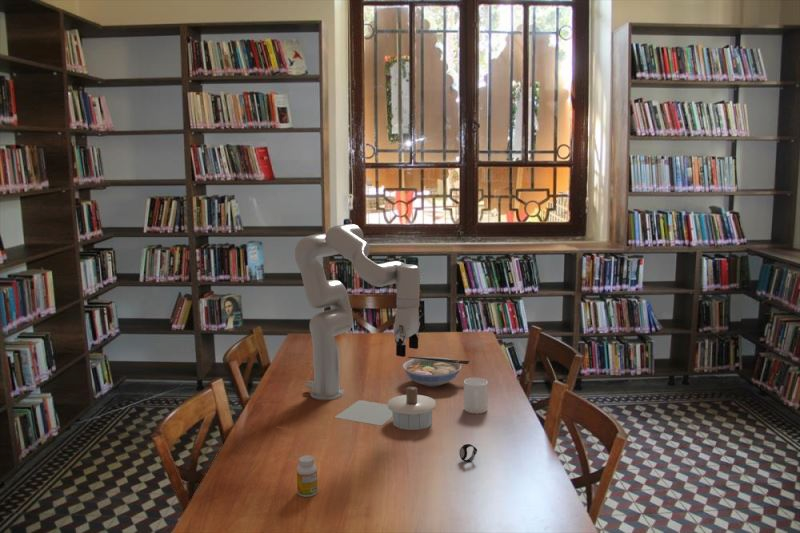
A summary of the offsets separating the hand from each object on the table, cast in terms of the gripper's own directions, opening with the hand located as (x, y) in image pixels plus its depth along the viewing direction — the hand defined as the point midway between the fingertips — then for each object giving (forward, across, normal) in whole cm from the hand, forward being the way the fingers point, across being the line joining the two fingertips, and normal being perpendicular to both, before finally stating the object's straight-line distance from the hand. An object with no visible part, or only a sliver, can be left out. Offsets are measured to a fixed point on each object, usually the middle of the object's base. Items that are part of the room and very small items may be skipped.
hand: (407, 352), depth 235 cm
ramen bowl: (+24, -36, -6) cm, 44 cm away
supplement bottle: (+23, +58, -2) cm, 63 cm away
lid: (+17, +3, +3) cm, 18 cm away
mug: (+23, -15, +19) cm, 34 cm away
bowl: (+23, +3, +4) cm, 24 cm away
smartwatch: (+23, +22, +31) cm, 44 cm away
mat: (+24, +1, -14) cm, 27 cm away
